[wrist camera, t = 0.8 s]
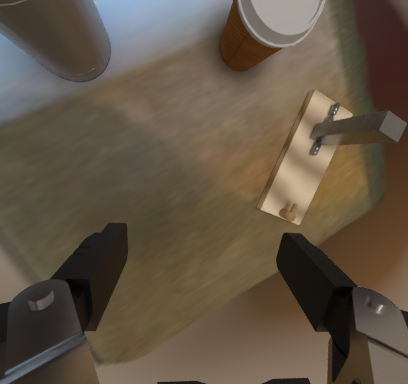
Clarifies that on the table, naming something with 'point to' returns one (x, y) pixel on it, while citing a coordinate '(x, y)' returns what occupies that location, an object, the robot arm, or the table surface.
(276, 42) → the disposable coffee cup
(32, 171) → the table surface
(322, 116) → the rail
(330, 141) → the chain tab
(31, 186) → the table surface
